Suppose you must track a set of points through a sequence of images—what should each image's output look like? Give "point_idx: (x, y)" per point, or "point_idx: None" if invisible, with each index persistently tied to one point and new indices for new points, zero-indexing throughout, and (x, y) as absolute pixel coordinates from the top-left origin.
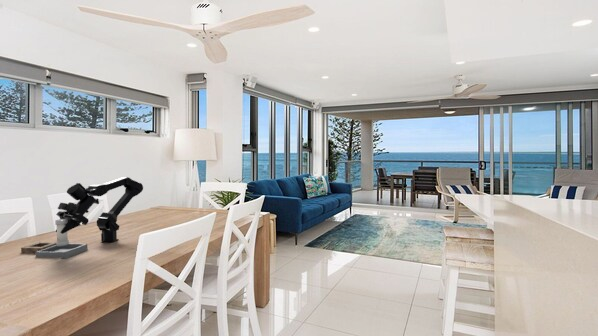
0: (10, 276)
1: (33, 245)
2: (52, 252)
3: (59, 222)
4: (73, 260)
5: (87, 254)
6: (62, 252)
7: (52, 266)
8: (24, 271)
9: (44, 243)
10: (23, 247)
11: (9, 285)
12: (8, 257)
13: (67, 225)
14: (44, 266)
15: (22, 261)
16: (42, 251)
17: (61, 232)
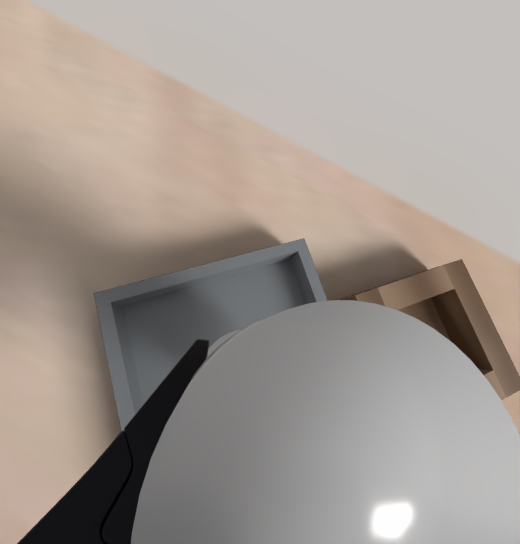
0: (125, 66)
1: (468, 322)
2: (192, 267)
3: (229, 340)
4: (26, 304)
5: (45, 437)
6: (115, 289)
7: (57, 193)
8: (131, 115)
9: None
10: (457, 266)
11: (11, 2)
12: (424, 221)
13: (97, 469)
14: (105, 182)
15: (300, 202)
16: (304, 278)
17: (193, 346)
